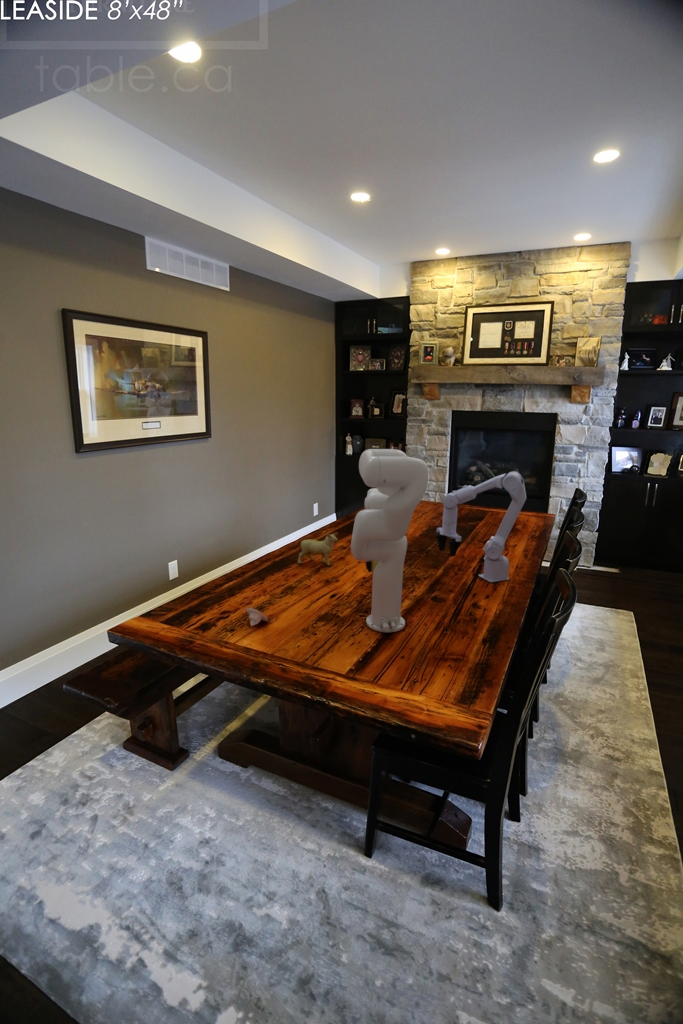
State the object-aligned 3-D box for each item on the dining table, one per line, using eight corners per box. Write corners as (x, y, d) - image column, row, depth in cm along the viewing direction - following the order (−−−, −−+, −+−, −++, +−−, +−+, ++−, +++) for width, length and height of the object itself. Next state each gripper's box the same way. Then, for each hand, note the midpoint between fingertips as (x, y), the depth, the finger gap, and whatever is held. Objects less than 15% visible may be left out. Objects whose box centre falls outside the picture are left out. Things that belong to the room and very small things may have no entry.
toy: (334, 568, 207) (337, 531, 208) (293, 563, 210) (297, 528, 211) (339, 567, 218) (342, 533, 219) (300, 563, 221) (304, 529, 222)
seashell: (251, 634, 162) (235, 615, 161) (262, 623, 165) (246, 604, 164) (262, 630, 156) (245, 610, 155) (273, 618, 159) (257, 599, 158)
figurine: (481, 562, 222) (483, 536, 219) (482, 556, 230) (484, 531, 227) (499, 564, 220) (501, 538, 217) (499, 558, 228) (501, 533, 225)
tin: (370, 573, 183) (370, 561, 182) (369, 569, 186) (370, 558, 185) (380, 573, 183) (381, 561, 182) (379, 569, 186) (380, 558, 185)
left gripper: (396, 519, 185) (394, 566, 189) (352, 520, 183) (351, 568, 187) (402, 524, 178) (399, 573, 182) (355, 525, 175) (354, 575, 180)
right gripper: (431, 518, 211) (429, 549, 215) (452, 527, 199) (449, 559, 202) (445, 517, 214) (443, 547, 217) (466, 525, 201) (463, 557, 205)
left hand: (375, 570), depth 184 cm, fingers closed on tin, 3 cm apart
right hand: (447, 553), depth 210 cm, fingers open, 7 cm apart
